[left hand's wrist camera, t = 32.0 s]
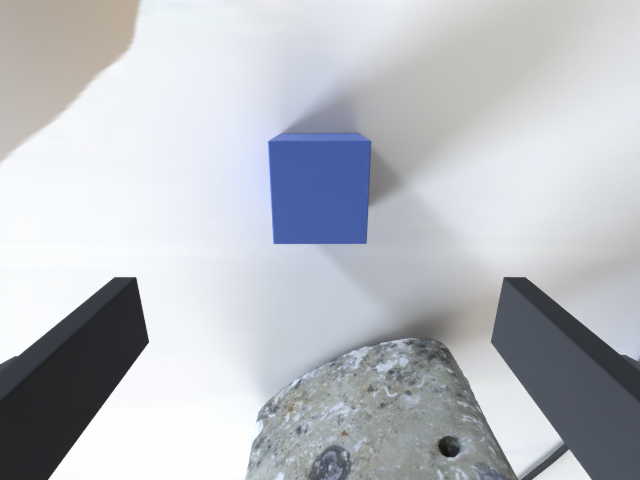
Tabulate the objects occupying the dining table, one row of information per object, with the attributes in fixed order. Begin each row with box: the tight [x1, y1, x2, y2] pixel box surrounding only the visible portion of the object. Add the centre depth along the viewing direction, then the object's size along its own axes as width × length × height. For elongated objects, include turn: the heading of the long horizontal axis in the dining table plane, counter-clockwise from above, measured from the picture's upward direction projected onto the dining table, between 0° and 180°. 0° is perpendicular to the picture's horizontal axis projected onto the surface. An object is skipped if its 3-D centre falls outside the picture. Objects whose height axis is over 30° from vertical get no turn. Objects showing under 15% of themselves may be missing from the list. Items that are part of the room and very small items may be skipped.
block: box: [268, 133, 371, 244], centre depth 33 cm, size 9×8×9 cm
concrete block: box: [245, 338, 518, 480], centre depth 37 cm, size 27×9×20 cm, turn 117°
